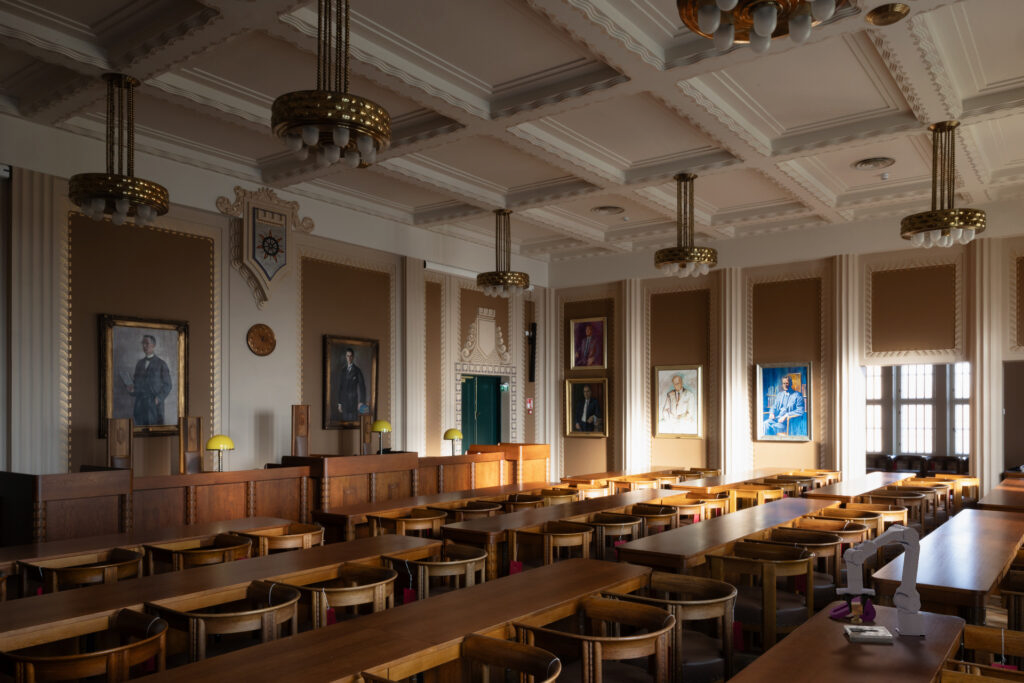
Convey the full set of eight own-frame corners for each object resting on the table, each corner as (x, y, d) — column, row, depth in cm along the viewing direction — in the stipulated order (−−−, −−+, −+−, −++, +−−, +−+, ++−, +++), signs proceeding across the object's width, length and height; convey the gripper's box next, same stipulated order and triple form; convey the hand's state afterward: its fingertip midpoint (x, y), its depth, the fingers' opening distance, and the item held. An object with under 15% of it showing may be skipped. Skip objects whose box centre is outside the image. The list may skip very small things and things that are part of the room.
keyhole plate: (884, 634, 326) (884, 626, 326) (893, 643, 314) (892, 636, 314) (844, 632, 329) (843, 625, 329) (850, 642, 317) (850, 634, 317)
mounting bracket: (841, 634, 345) (879, 617, 342) (831, 616, 346) (869, 599, 343) (836, 627, 354) (873, 611, 351) (827, 610, 355) (864, 593, 352)
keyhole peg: (860, 620, 324) (859, 602, 325) (863, 623, 320) (862, 604, 321) (850, 620, 325) (849, 601, 325) (852, 623, 321) (851, 604, 321)
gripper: (871, 576, 326) (872, 609, 325) (834, 575, 329) (835, 608, 328) (875, 580, 319) (877, 614, 318) (838, 580, 322) (839, 613, 321)
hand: (856, 612), depth 323 cm, fingers closed on keyhole peg, 4 cm apart
